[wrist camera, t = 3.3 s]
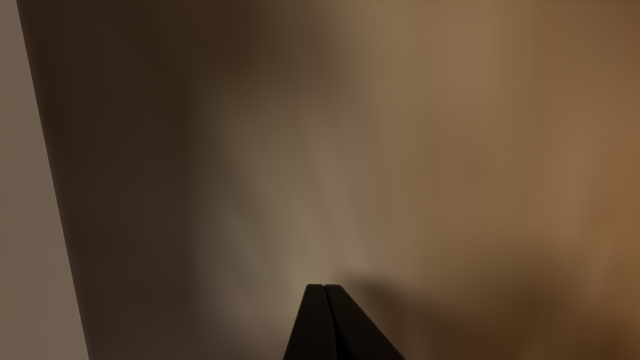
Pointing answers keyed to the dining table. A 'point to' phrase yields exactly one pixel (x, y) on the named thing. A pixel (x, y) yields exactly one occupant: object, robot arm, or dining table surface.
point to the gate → (30, 221)
